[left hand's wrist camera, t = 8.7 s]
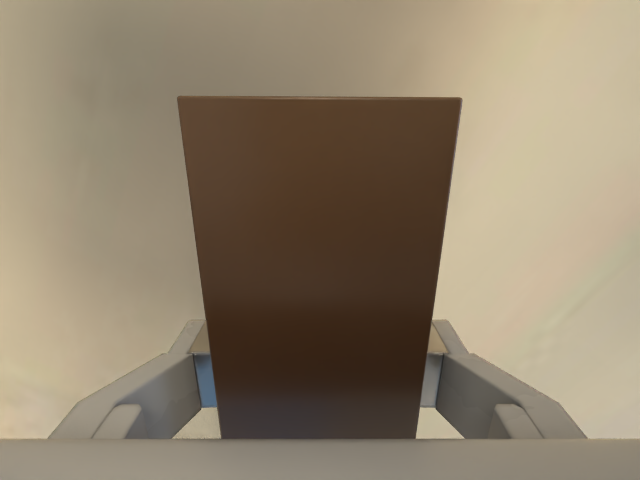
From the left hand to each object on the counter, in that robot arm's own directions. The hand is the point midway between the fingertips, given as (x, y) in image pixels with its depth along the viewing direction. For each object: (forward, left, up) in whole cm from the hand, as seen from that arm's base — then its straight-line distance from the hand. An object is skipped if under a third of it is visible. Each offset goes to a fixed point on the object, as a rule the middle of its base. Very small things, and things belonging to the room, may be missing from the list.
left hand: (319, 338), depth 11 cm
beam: (+26, -19, -3) cm, 32 cm away
